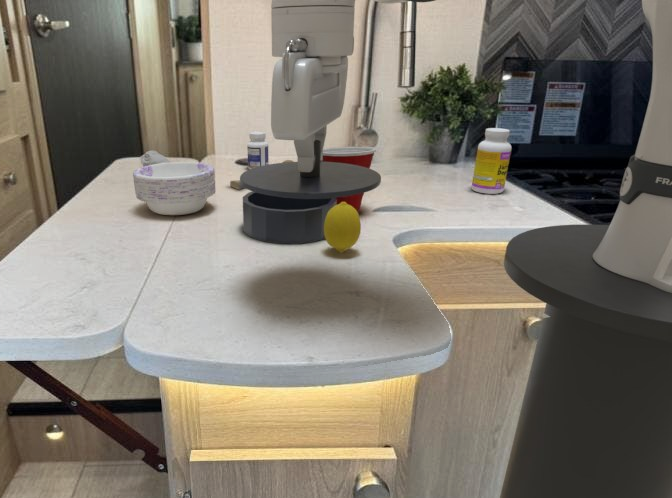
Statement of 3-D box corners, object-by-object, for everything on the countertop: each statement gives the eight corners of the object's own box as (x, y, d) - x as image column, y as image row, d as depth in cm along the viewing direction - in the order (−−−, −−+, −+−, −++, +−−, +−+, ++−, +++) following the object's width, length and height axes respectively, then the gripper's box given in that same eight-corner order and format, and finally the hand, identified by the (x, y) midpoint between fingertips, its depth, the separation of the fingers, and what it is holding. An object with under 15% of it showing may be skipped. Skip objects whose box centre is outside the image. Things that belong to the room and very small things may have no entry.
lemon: (316, 249, 85) (318, 199, 82) (348, 244, 87) (351, 195, 84) (332, 261, 81) (335, 208, 77) (365, 256, 83) (369, 204, 79)
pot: (342, 219, 99) (343, 190, 97) (323, 248, 86) (324, 214, 83) (260, 212, 104) (260, 184, 101) (230, 238, 90) (228, 206, 88)
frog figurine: (146, 178, 130) (143, 148, 127) (175, 178, 129) (173, 148, 126) (138, 184, 124) (135, 153, 121) (168, 184, 124) (166, 153, 121)
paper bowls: (132, 203, 110) (128, 163, 106) (206, 196, 114) (204, 158, 111) (142, 224, 97) (137, 180, 93) (225, 216, 101) (223, 173, 98)
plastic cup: (345, 201, 111) (348, 140, 106) (383, 213, 103) (389, 148, 98) (303, 209, 105) (304, 146, 100) (339, 223, 97) (343, 155, 92)
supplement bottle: (495, 196, 114) (507, 133, 108) (465, 191, 118) (475, 129, 112) (508, 190, 118) (520, 129, 113) (479, 185, 122) (488, 126, 117)
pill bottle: (261, 165, 142) (260, 130, 139) (272, 169, 139) (272, 133, 135) (243, 168, 140) (243, 132, 136) (255, 171, 136) (254, 135, 132)
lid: (388, 173, 71) (391, 132, 68) (369, 208, 56) (372, 157, 54) (265, 167, 75) (264, 128, 73) (218, 198, 61) (216, 151, 59)
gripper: (319, 38, 49) (316, 190, 55) (356, 38, 67) (351, 153, 73) (253, 39, 51) (257, 186, 57) (306, 39, 68) (305, 151, 74)
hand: (310, 167), depth 65 cm, fingers closed on lid, 2 cm apart
